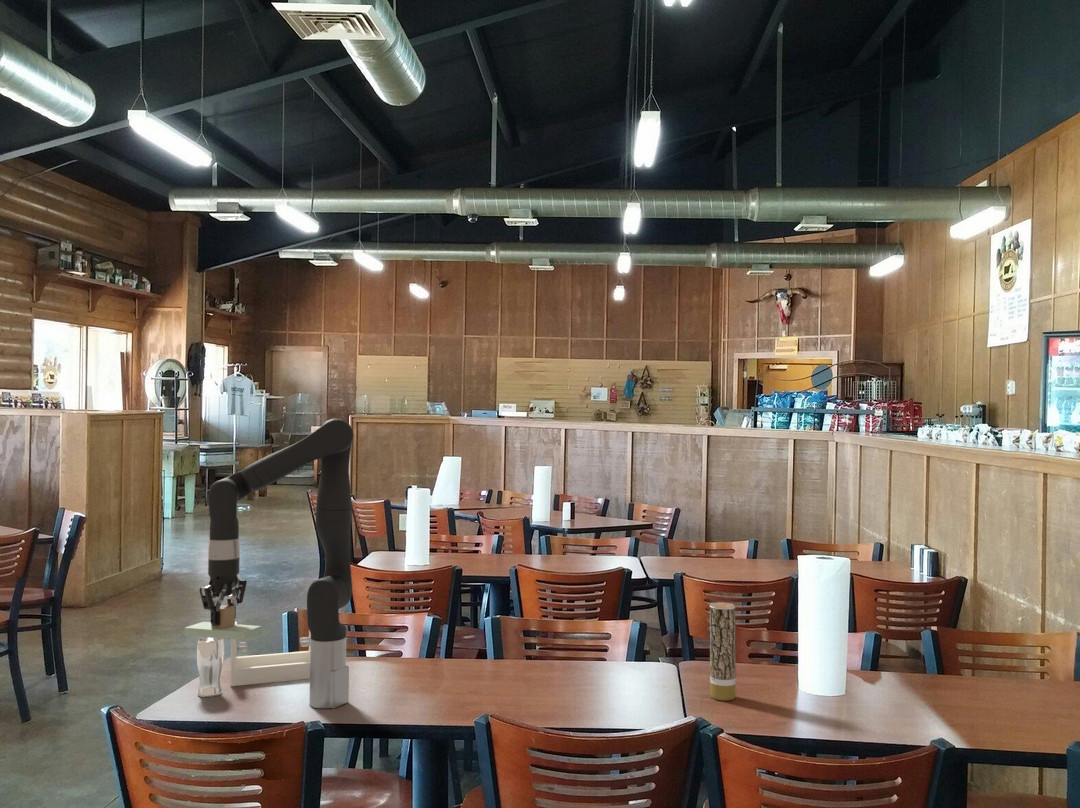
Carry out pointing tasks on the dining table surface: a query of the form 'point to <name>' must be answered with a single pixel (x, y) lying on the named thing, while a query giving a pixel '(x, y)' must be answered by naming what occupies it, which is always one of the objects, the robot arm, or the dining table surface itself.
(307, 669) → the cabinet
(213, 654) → the beer glass
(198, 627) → the shelf board
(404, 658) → the dining table surface
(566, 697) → the dining table surface
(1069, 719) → the dining table surface
